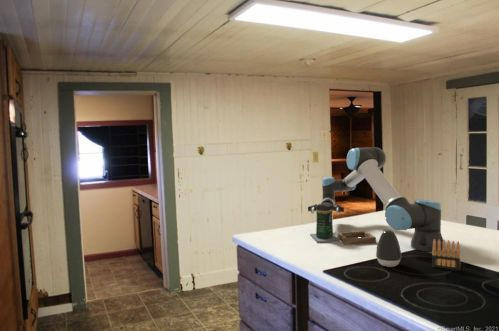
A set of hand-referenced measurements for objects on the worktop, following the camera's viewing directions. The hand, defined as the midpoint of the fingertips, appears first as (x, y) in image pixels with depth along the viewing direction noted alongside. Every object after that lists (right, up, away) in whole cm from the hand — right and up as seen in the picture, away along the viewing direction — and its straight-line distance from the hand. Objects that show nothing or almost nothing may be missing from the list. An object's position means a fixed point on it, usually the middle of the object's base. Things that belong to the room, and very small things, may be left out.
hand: (324, 211), depth 228 cm
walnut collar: (+15, -14, -11) cm, 23 cm away
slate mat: (-1, -14, -5) cm, 15 cm away
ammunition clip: (+39, -17, -58) cm, 72 cm away
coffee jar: (-1, -13, -5) cm, 14 cm away
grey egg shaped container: (+18, -17, -52) cm, 57 cm away
